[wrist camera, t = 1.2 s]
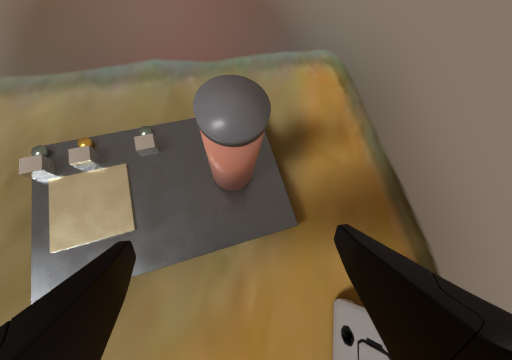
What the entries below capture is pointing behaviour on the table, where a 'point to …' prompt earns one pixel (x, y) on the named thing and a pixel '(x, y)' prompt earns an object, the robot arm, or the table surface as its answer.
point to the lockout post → (231, 127)
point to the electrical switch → (355, 334)
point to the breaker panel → (142, 201)
